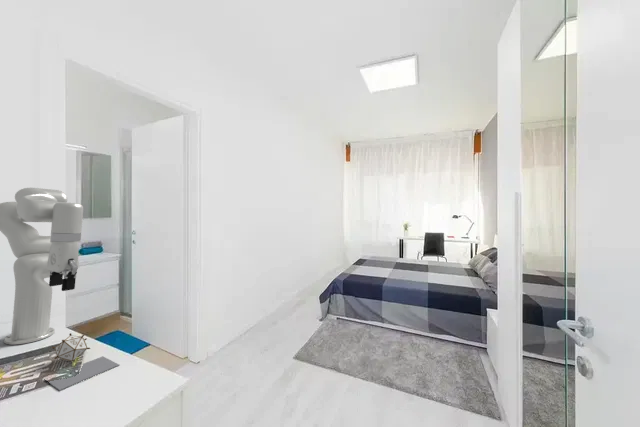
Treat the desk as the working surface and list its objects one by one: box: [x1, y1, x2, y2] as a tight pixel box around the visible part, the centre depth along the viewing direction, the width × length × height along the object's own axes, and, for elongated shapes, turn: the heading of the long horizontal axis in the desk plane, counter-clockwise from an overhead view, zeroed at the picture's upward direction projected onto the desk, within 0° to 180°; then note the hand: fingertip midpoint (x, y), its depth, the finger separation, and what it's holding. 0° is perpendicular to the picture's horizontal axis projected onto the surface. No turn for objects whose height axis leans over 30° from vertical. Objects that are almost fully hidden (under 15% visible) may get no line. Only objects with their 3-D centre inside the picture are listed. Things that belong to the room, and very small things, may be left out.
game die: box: [51, 333, 91, 362], centre depth 82 cm, size 9×8×10 cm
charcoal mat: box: [48, 356, 120, 392], centre depth 76 cm, size 10×14×1 cm
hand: (61, 287), depth 87 cm, fingers open, 9 cm apart
